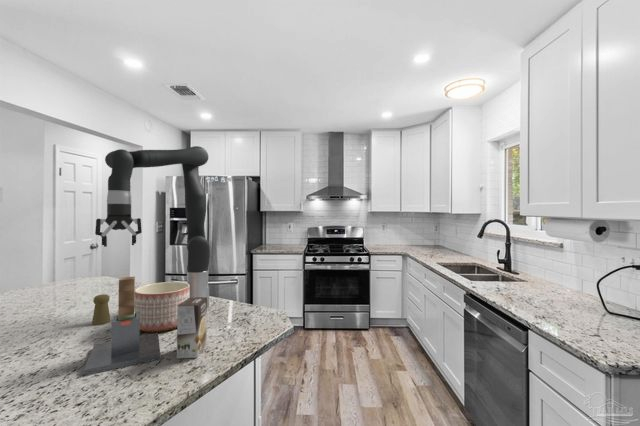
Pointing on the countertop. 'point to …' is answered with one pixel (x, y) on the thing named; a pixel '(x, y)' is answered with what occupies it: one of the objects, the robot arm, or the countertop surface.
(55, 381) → the countertop surface
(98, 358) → the stand base
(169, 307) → the planter
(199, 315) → the coffee box
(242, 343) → the countertop surface
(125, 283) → the stand post
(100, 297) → the cork
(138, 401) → the countertop surface
